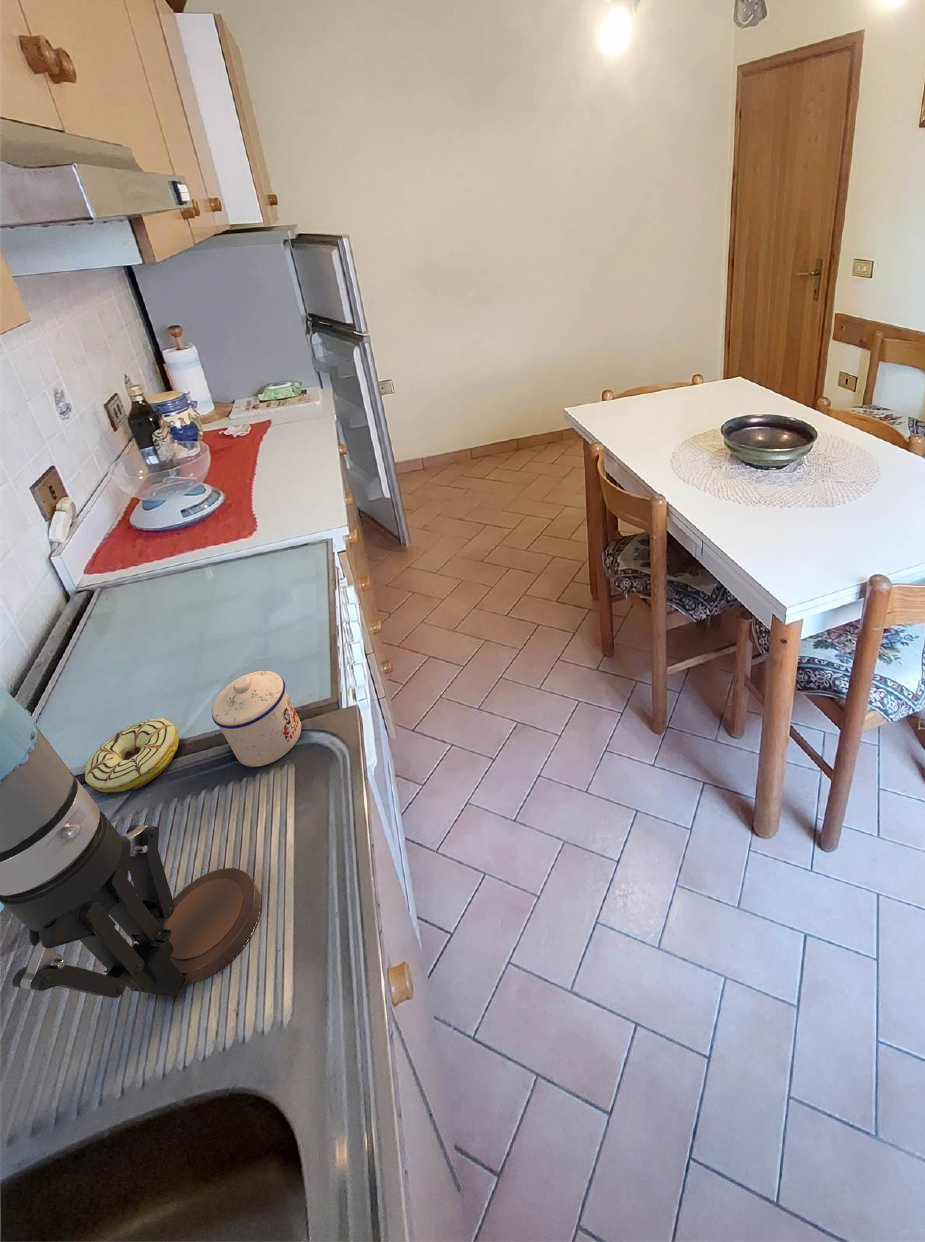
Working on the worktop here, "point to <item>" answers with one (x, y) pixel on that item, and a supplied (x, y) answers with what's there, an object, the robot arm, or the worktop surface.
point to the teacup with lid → (257, 718)
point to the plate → (212, 922)
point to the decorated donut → (120, 774)
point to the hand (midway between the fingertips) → (169, 986)
